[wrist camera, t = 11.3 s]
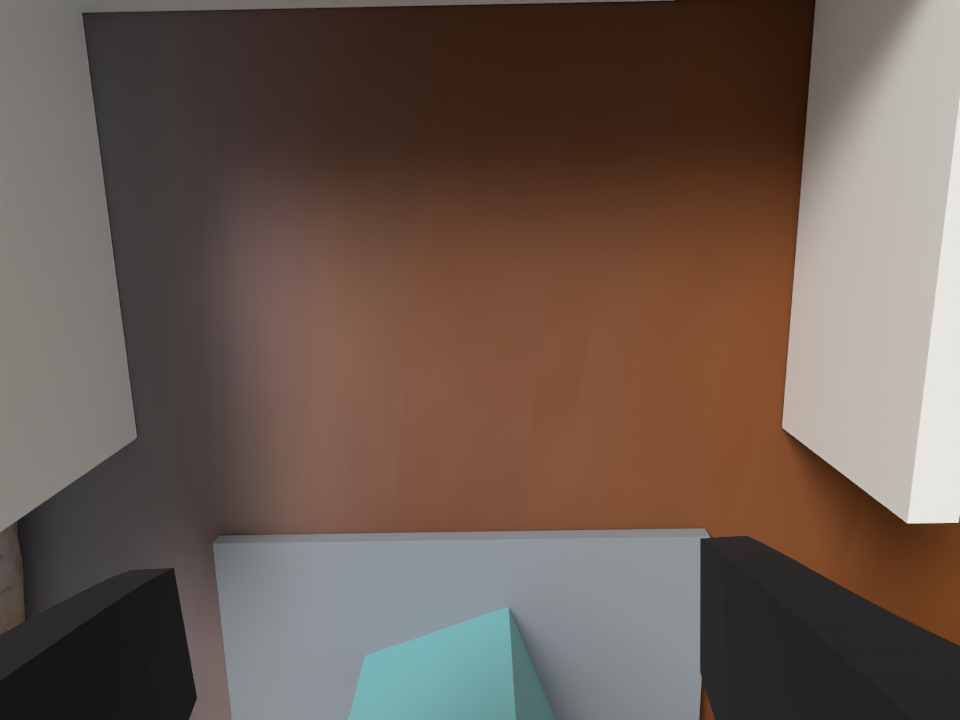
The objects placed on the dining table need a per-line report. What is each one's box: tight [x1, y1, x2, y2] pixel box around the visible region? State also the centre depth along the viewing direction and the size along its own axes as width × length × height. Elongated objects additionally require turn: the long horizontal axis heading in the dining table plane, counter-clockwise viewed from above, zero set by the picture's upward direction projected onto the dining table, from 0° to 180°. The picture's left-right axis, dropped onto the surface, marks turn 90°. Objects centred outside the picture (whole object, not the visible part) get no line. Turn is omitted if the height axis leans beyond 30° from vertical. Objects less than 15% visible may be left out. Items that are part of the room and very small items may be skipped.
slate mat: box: [213, 528, 710, 720], centre depth 21 cm, size 14×10×1 cm
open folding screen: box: [0, 0, 960, 532], centre depth 16 cm, size 20×12×6 cm, turn 91°
